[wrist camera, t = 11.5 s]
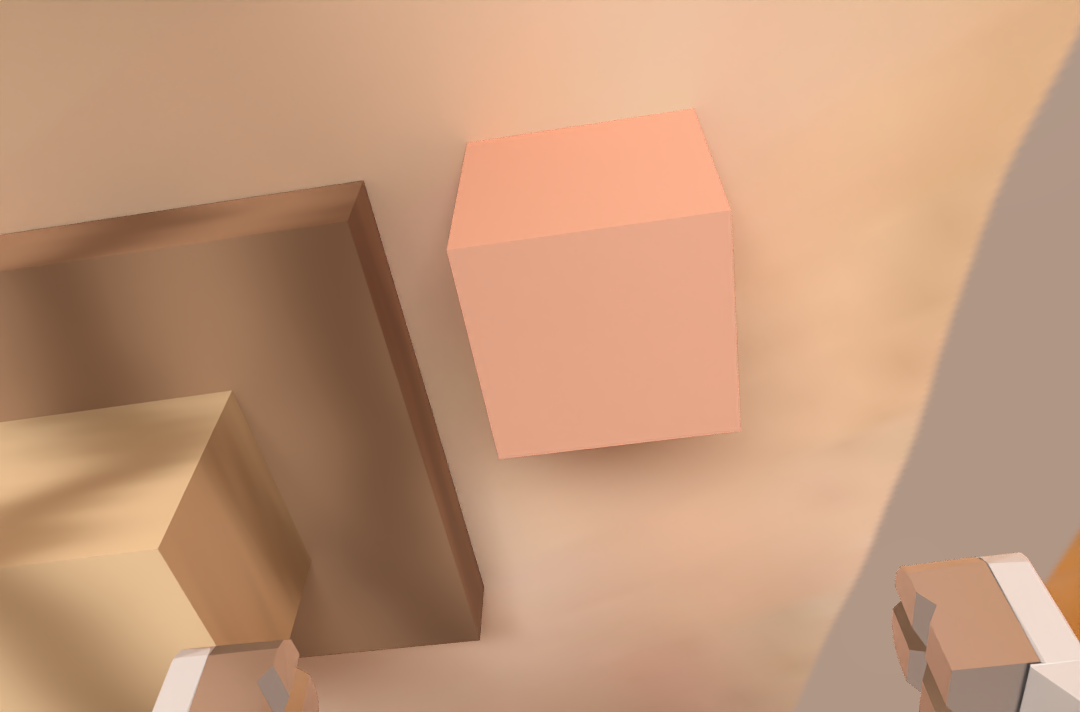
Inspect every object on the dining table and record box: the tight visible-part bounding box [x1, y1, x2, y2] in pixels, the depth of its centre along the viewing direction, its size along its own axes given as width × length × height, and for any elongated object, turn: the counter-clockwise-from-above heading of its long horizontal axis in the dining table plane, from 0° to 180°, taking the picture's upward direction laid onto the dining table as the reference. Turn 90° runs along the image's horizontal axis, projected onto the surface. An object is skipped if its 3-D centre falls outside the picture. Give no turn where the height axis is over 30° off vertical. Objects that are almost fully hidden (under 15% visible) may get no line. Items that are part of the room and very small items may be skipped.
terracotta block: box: [447, 108, 741, 459], centre depth 19 cm, size 5×5×5 cm
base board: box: [0, 181, 484, 658], centre depth 24 cm, size 14×14×2 cm
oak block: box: [0, 391, 311, 712], centre depth 21 cm, size 6×6×5 cm
